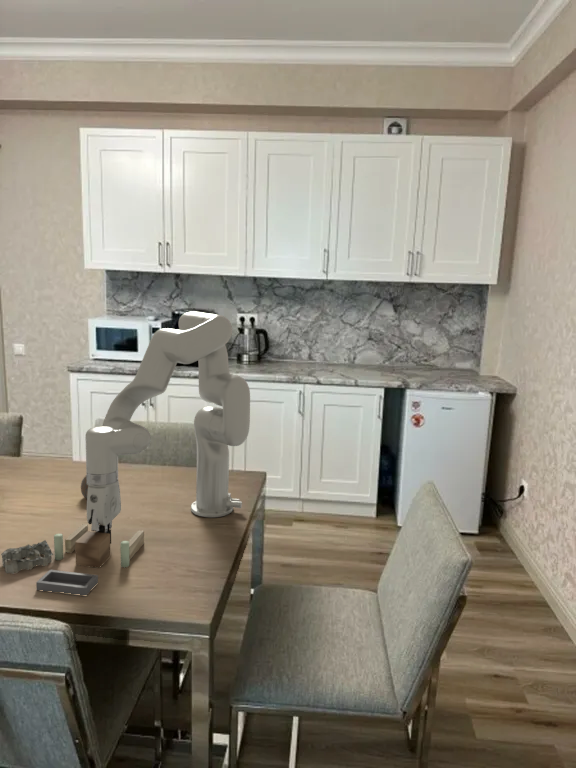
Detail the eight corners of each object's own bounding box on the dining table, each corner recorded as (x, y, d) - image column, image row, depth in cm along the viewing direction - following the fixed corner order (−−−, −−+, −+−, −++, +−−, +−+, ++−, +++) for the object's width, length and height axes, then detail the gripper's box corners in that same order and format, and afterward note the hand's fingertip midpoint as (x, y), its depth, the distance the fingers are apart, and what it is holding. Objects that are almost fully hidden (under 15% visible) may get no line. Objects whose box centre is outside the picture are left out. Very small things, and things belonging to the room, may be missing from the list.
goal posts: (130, 564, 140) (130, 541, 139) (127, 568, 138) (127, 545, 137) (57, 555, 142) (56, 533, 141) (53, 559, 140) (52, 536, 139)
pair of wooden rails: (144, 543, 151) (143, 530, 150) (130, 559, 142) (129, 546, 141) (82, 536, 153) (82, 524, 152) (65, 552, 144) (64, 539, 143)
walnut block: (110, 556, 143) (110, 533, 142) (99, 567, 137) (98, 544, 136) (87, 553, 144) (87, 531, 143) (75, 565, 138) (75, 542, 137)
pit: (98, 583, 131) (97, 575, 130) (86, 596, 125) (86, 588, 125) (50, 577, 132) (50, 569, 132) (36, 590, 127) (36, 582, 126)
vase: (89, 504, 174) (89, 476, 172) (76, 497, 178) (75, 470, 176) (109, 497, 179) (108, 470, 177) (95, 491, 183) (95, 465, 181)
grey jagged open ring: (5, 577, 132) (4, 561, 131) (0, 562, 138) (-1, 547, 138) (54, 565, 138) (53, 550, 137) (47, 552, 144) (47, 537, 143)
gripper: (103, 488, 135) (104, 560, 138) (129, 467, 149) (129, 533, 153) (73, 485, 136) (75, 557, 139) (101, 465, 150) (103, 530, 154)
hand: (104, 544), depth 146 cm, fingers closed
